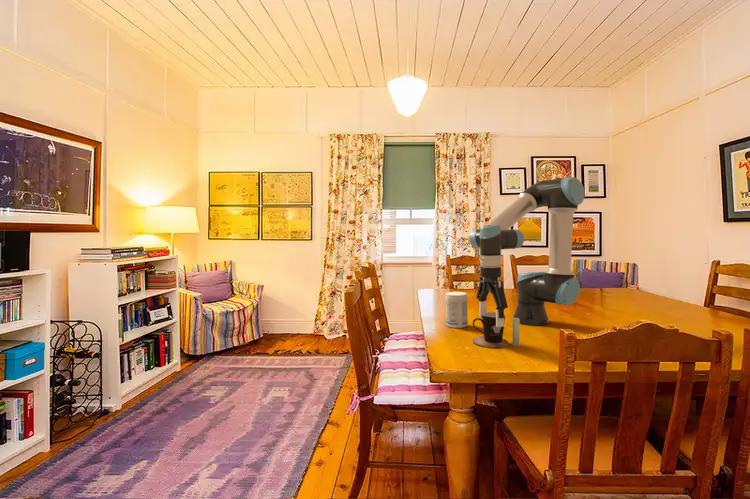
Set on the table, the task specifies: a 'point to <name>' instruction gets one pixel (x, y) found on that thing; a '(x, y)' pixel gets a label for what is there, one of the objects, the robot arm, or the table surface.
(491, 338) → the coffee mug
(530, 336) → the table surface
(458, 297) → the supplement tub
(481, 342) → the walnut base
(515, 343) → the dowel
